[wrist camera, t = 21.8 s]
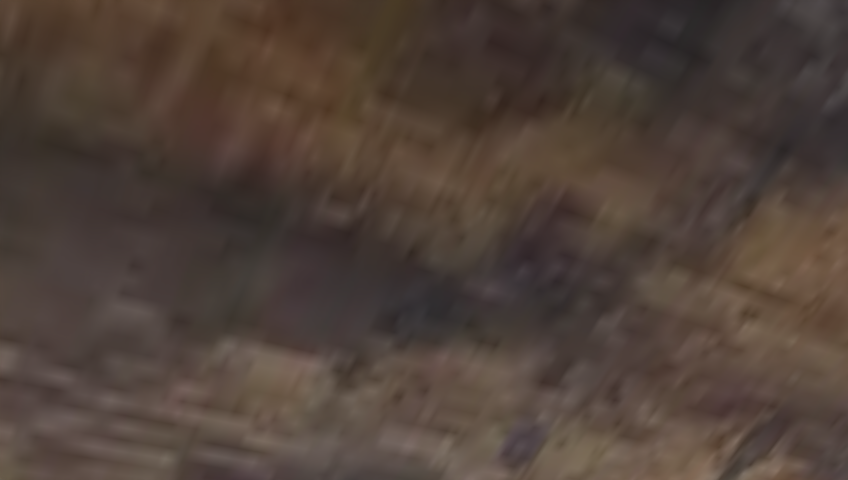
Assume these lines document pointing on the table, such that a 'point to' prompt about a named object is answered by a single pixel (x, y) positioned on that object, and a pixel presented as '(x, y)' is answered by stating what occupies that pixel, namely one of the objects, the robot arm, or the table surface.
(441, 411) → the table surface
